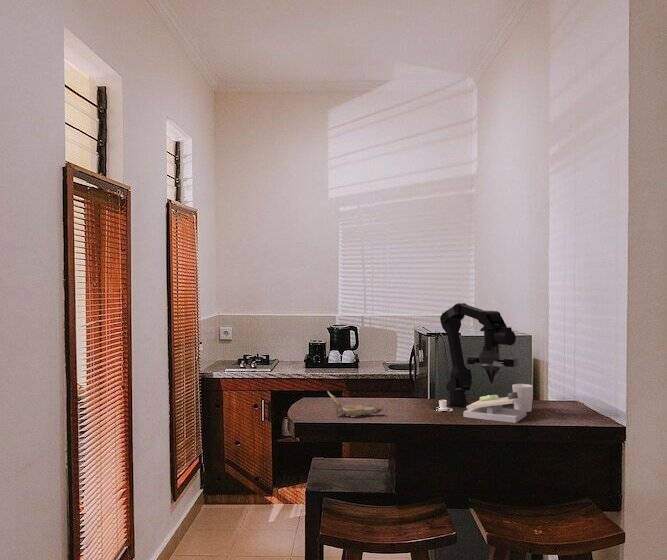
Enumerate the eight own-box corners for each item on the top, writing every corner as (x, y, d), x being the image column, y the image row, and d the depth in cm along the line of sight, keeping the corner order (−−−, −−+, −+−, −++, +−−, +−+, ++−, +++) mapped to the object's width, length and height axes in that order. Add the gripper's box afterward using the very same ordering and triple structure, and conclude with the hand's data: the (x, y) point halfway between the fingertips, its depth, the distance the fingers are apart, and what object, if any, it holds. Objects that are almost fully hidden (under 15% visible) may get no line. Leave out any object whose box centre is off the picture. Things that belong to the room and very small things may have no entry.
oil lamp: (327, 414, 245) (327, 389, 245) (381, 413, 245) (381, 388, 245) (328, 419, 236) (327, 392, 236) (383, 418, 237) (383, 392, 237)
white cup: (510, 411, 245) (510, 386, 245) (514, 407, 252) (514, 383, 252) (531, 413, 242) (530, 387, 242) (534, 409, 248) (534, 384, 249)
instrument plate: (466, 408, 236) (465, 400, 237) (478, 403, 247) (477, 395, 247) (513, 403, 226) (511, 395, 227) (523, 397, 237) (521, 389, 238)
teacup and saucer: (446, 413, 244) (446, 403, 244) (428, 411, 249) (428, 401, 249) (456, 410, 251) (456, 400, 251) (438, 407, 256) (438, 398, 256)
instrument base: (463, 416, 236) (463, 405, 236) (476, 410, 248) (476, 399, 248) (515, 422, 225) (515, 410, 225) (526, 415, 237) (526, 403, 237)
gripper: (461, 344, 239) (461, 384, 239) (509, 346, 229) (509, 388, 229) (471, 341, 248) (472, 380, 248) (517, 343, 238) (518, 384, 238)
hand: (492, 383), depth 240 cm, fingers closed
